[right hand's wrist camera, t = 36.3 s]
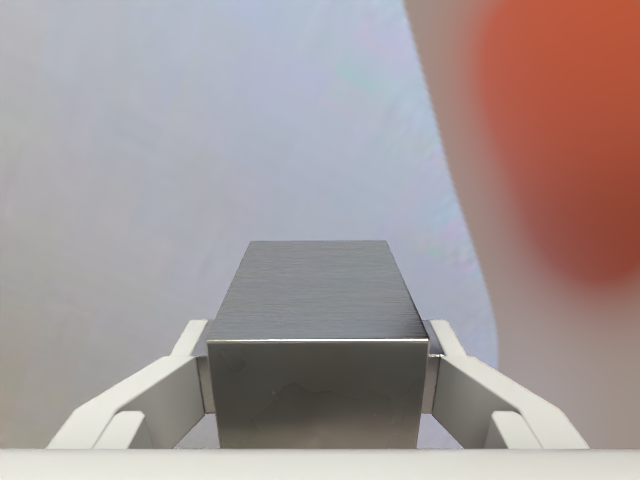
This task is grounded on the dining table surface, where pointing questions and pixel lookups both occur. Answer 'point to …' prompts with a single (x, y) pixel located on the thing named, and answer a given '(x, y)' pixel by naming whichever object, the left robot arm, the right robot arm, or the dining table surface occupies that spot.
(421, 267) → the dining table surface
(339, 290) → the block
